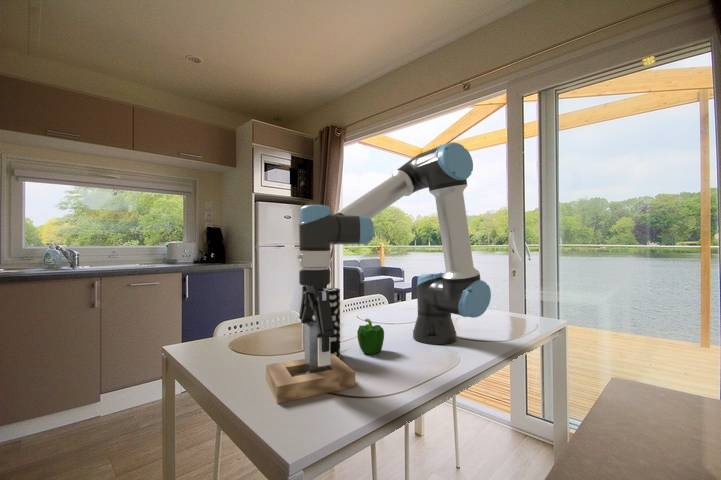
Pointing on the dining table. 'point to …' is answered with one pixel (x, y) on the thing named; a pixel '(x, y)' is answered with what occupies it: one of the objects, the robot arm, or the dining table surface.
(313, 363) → the bracket
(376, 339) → the bell pepper
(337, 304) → the white-spotted black cylinder
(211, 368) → the dining table surface
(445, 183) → the robot arm
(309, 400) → the dining table surface
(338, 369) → the wooden rectangular frame
